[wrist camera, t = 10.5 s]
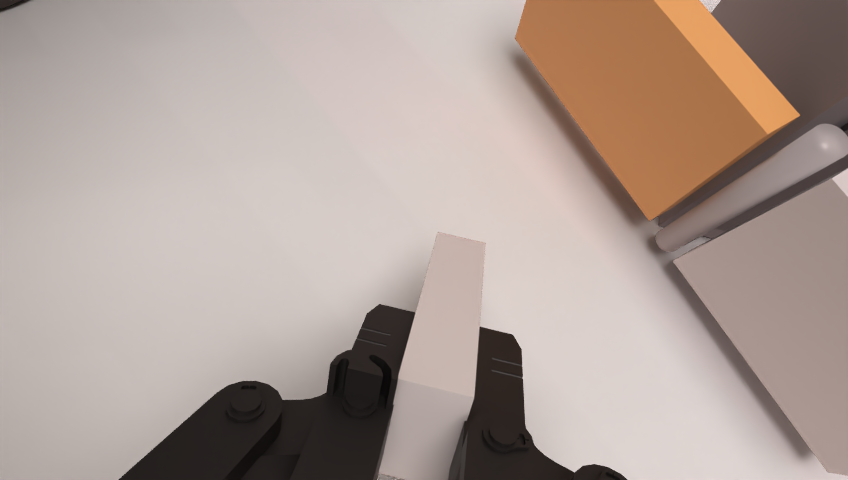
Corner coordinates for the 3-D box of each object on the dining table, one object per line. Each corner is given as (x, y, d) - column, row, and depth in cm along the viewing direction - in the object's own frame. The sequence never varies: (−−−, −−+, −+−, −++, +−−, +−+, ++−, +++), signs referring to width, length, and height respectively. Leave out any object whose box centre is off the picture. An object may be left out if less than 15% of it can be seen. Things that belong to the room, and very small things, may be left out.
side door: (511, 48, 23) (566, -134, 15) (533, 38, 24) (597, -147, 16) (820, 472, 18) (1143, 530, 10) (845, 455, 18) (1178, 498, 10)
